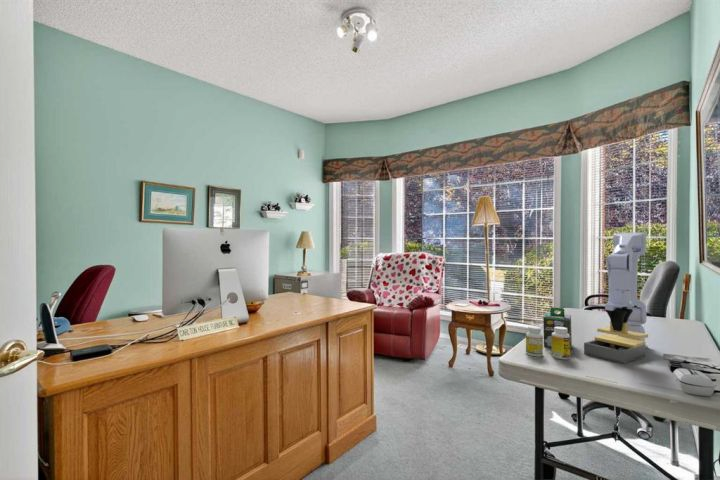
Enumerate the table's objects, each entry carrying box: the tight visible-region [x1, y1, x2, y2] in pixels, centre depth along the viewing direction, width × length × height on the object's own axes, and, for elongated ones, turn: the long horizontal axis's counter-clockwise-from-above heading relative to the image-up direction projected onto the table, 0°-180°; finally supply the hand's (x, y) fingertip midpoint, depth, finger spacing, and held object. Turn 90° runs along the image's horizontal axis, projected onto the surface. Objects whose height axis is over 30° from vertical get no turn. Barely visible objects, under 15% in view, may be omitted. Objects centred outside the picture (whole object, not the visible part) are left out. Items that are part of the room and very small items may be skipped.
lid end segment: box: [596, 320, 649, 339], centre depth 117 cm, size 7×12×4 cm, turn 31°
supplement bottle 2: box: [551, 327, 571, 360], centre depth 119 cm, size 6×6×10 cm
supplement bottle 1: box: [525, 325, 544, 358], centre depth 122 cm, size 5×5×10 cm
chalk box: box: [542, 306, 573, 351], centre depth 134 cm, size 9×9×15 cm
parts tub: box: [583, 333, 646, 365], centre depth 123 cm, size 17×12×5 cm
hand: (619, 330), depth 116 cm, fingers closed on lid end segment, 2 cm apart
